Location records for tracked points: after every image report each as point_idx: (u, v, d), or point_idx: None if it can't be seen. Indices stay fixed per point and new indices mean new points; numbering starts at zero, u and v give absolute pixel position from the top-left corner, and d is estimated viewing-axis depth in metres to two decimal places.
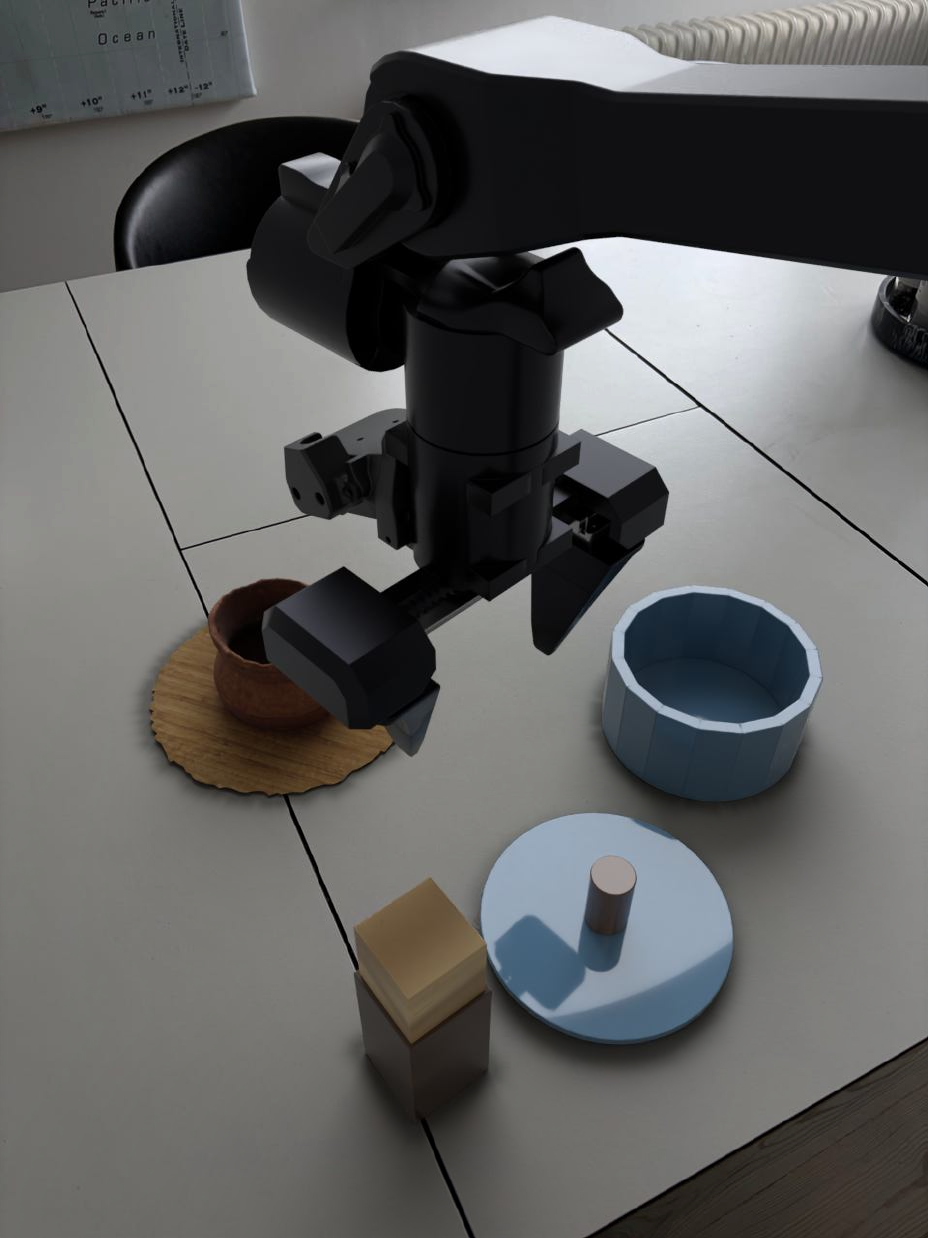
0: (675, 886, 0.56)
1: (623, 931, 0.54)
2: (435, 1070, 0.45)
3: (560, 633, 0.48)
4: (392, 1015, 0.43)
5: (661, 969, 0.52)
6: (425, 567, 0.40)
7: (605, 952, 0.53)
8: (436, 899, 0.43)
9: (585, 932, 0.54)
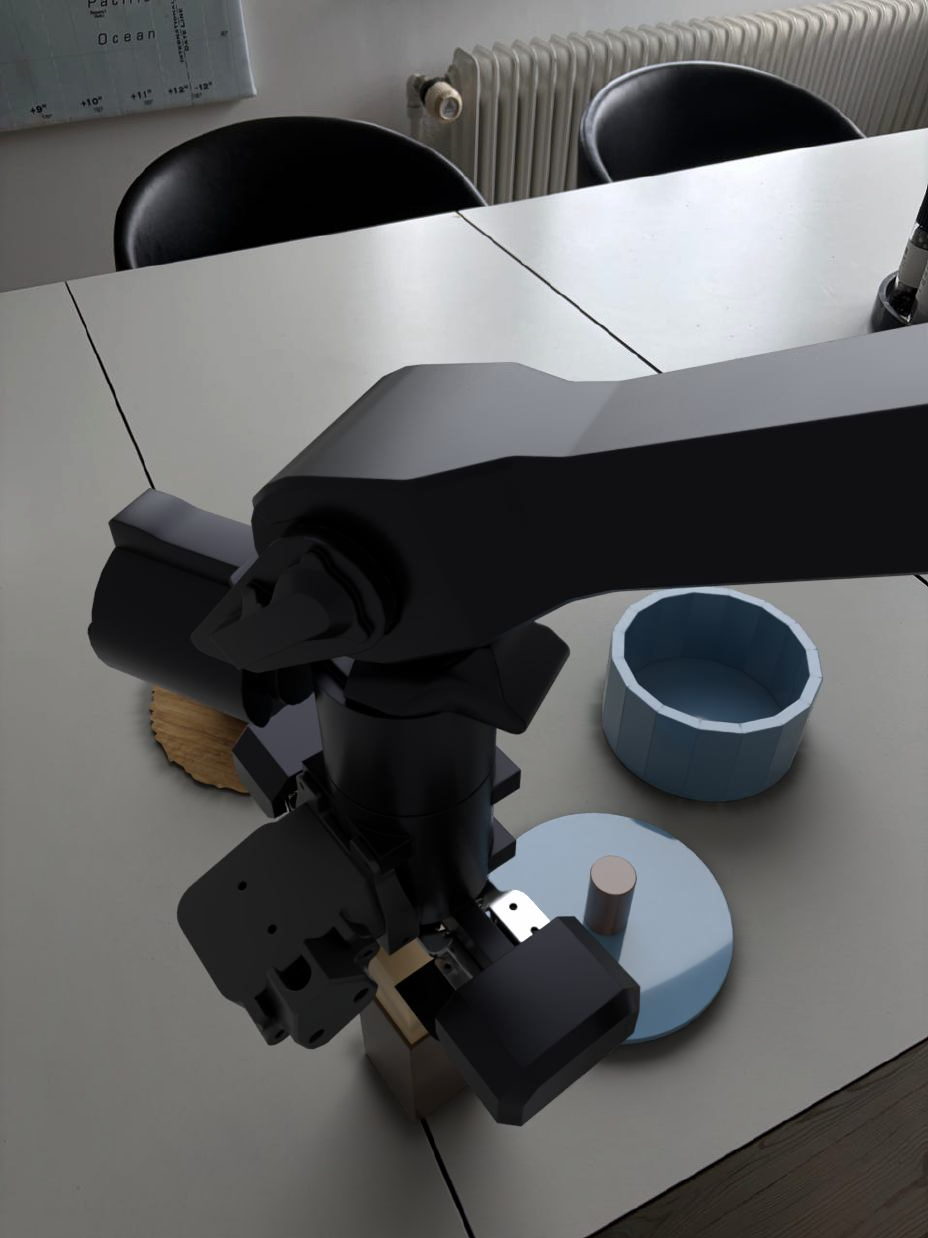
0: (675, 886, 0.56)
1: (623, 931, 0.54)
2: (435, 1070, 0.45)
3: None
4: (392, 1015, 0.43)
5: (661, 969, 0.52)
6: (455, 908, 0.36)
7: None
8: None
9: None
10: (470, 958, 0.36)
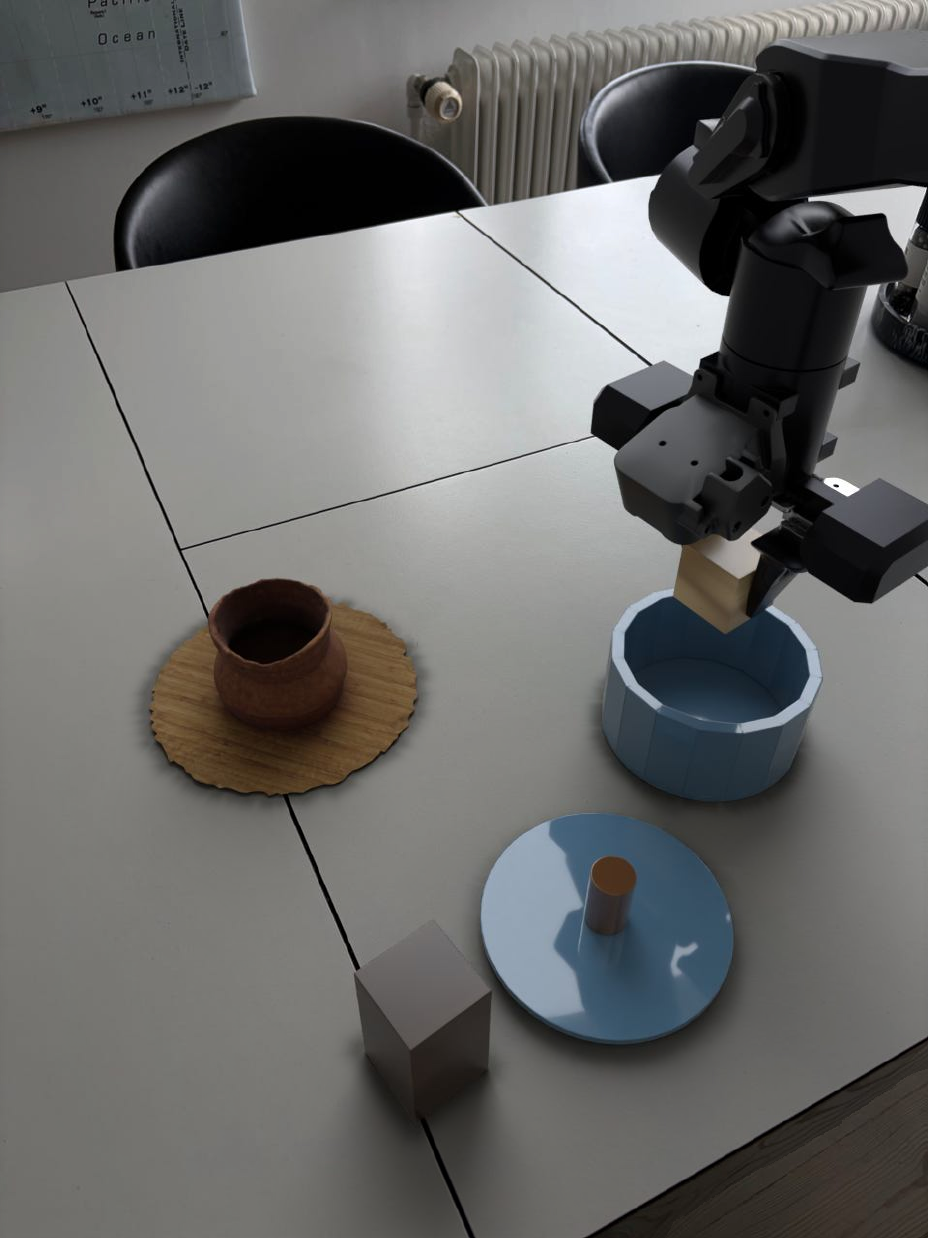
0: (675, 886, 0.56)
1: (623, 931, 0.54)
2: (435, 1070, 0.45)
3: None
4: (708, 615, 0.56)
5: (661, 969, 0.52)
6: (800, 479, 0.49)
7: (605, 952, 0.53)
8: None
9: (585, 932, 0.54)
10: (810, 515, 0.49)
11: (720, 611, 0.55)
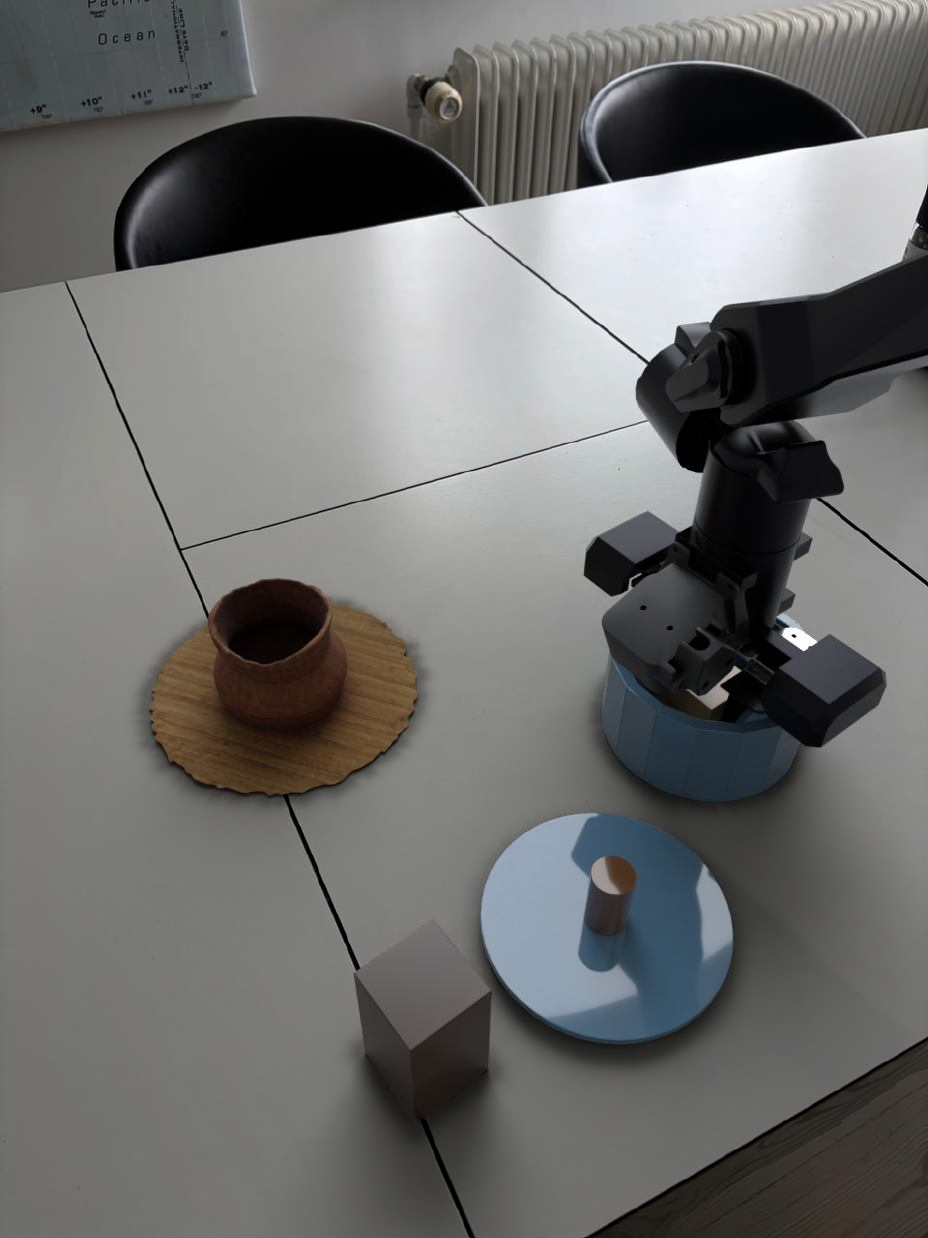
0: (675, 886, 0.56)
1: (623, 931, 0.54)
2: (435, 1070, 0.45)
3: None
4: None
5: (661, 969, 0.52)
6: (762, 632, 0.57)
7: (605, 952, 0.53)
8: None
9: (585, 932, 0.54)
10: (771, 664, 0.57)
11: None
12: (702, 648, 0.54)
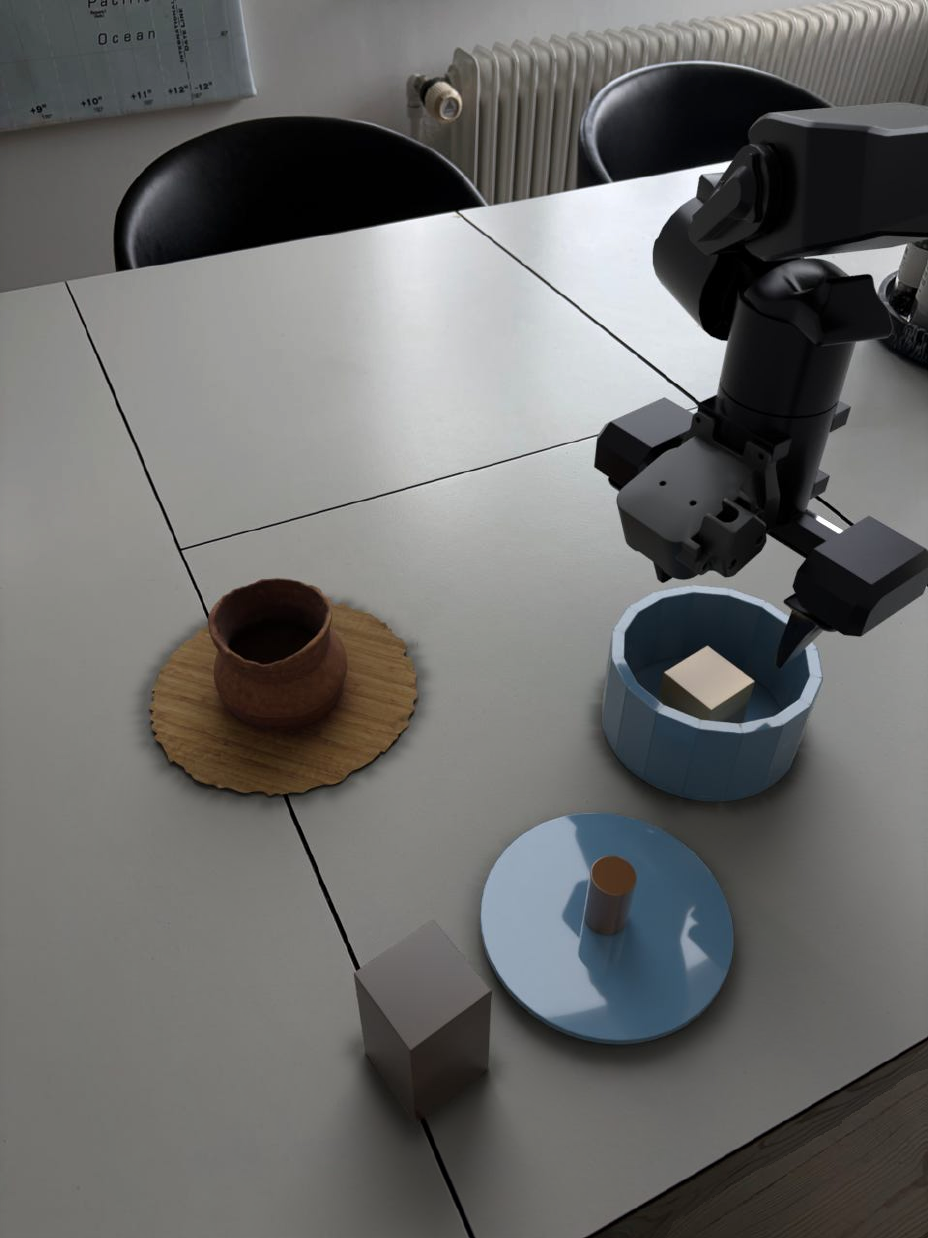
0: (675, 886, 0.56)
1: (623, 931, 0.54)
2: (435, 1070, 0.45)
3: None
4: None
5: (661, 969, 0.52)
6: (793, 515, 0.51)
7: (605, 952, 0.53)
8: (715, 657, 0.64)
9: (585, 932, 0.54)
10: None
11: None
12: None
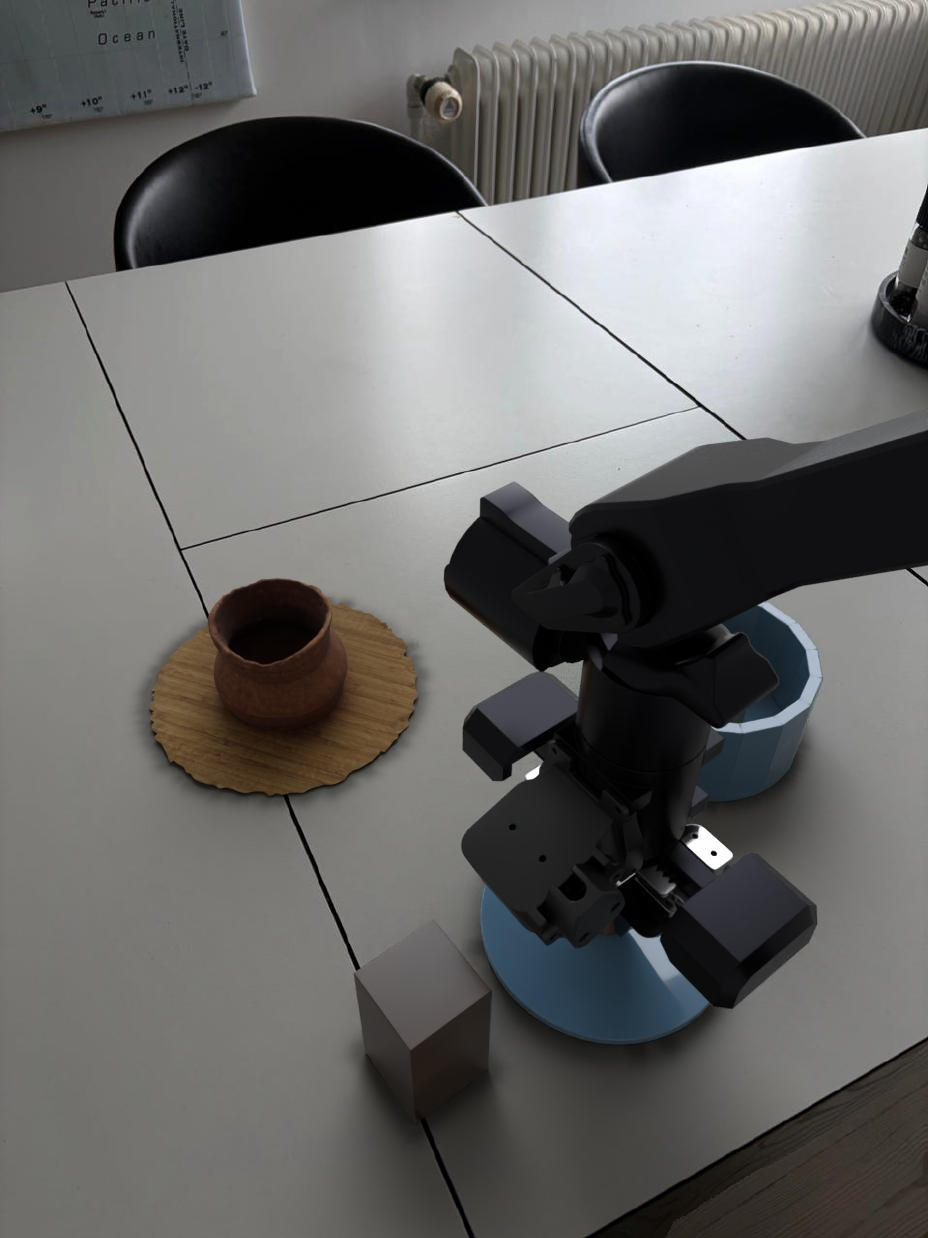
0: None
1: None
2: (435, 1070, 0.45)
3: None
4: None
5: (661, 970, 0.52)
6: (665, 847, 0.46)
7: (605, 952, 0.53)
8: None
9: None
10: (665, 874, 0.46)
11: None
12: None
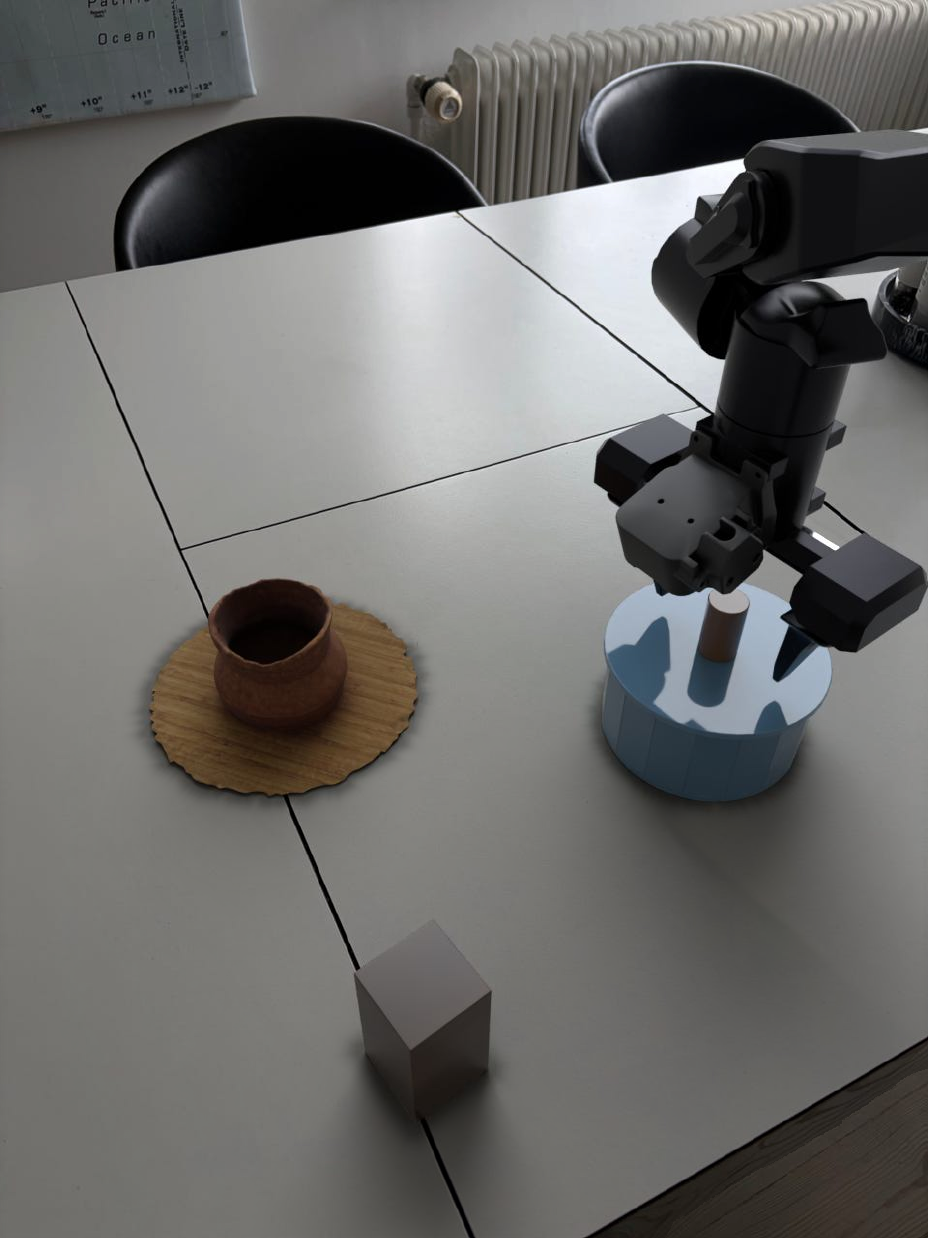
0: (776, 628, 0.62)
1: (734, 659, 0.60)
2: (435, 1070, 0.45)
3: None
4: None
5: (770, 686, 0.59)
6: (790, 532, 0.52)
7: (719, 674, 0.59)
8: None
9: (699, 660, 0.60)
10: None
11: None
12: None
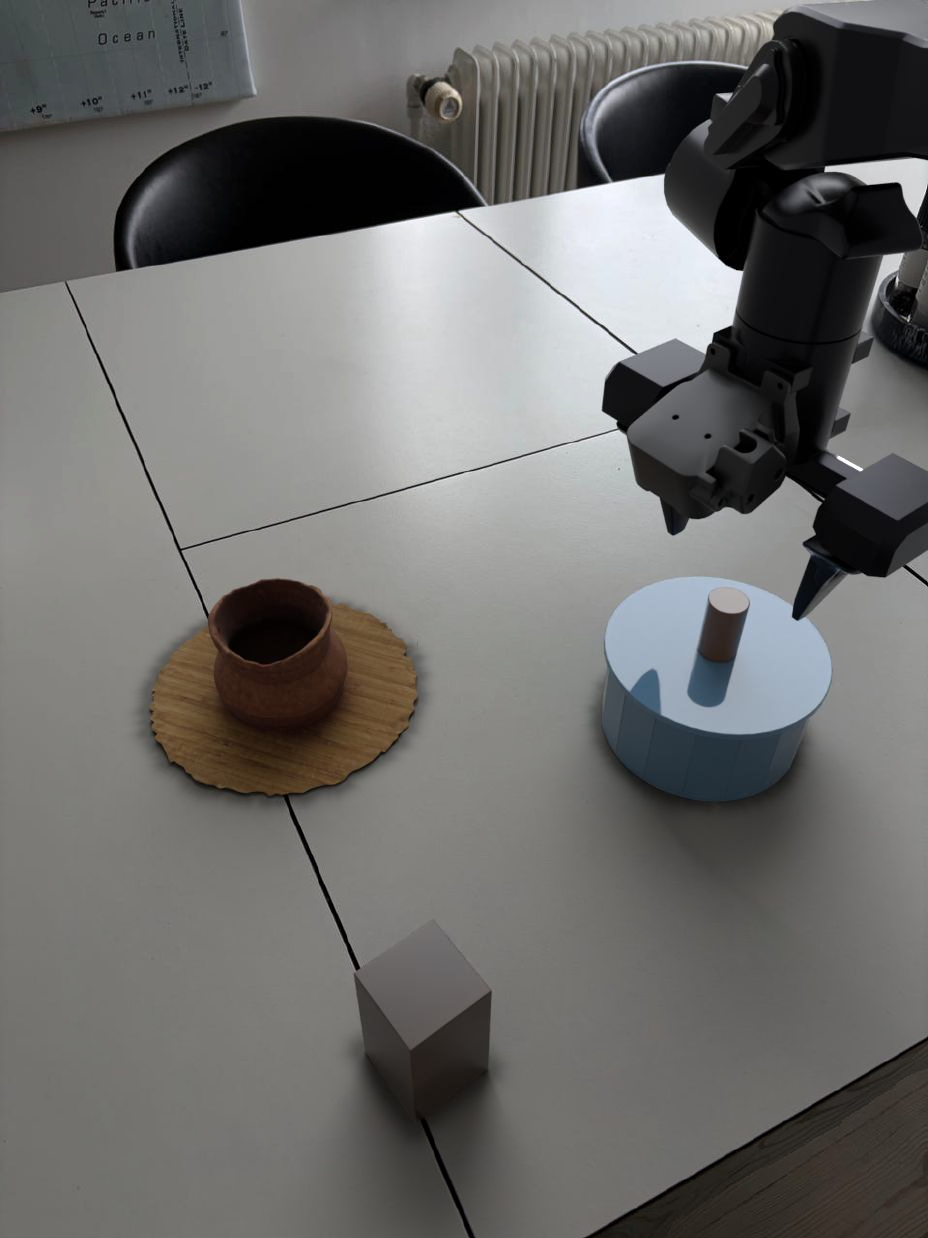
0: (776, 628, 0.62)
1: (734, 659, 0.60)
2: (435, 1070, 0.45)
3: None
4: None
5: (770, 686, 0.59)
6: (812, 454, 0.49)
7: (719, 674, 0.59)
8: None
9: (699, 660, 0.60)
10: None
11: None
12: None
